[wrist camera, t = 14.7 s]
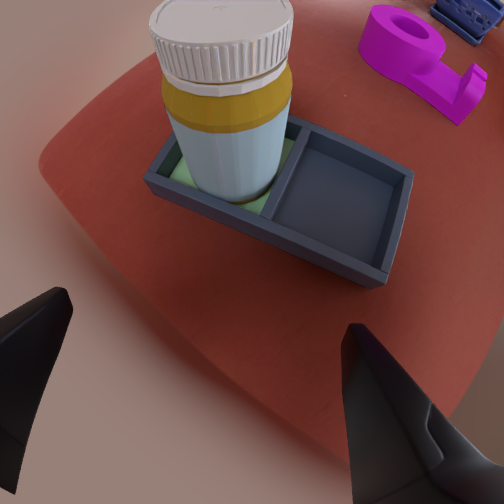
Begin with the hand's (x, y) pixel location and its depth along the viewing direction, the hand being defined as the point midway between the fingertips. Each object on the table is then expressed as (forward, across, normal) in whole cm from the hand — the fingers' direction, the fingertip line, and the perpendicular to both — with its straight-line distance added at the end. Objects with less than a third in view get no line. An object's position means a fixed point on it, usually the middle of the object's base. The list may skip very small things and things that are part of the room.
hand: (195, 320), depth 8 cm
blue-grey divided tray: (+18, -3, +2) cm, 18 cm away
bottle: (+18, +1, +1) cm, 18 cm away
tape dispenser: (+32, -20, -12) cm, 39 cm away
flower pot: (+49, -38, -30) cm, 68 cm away
